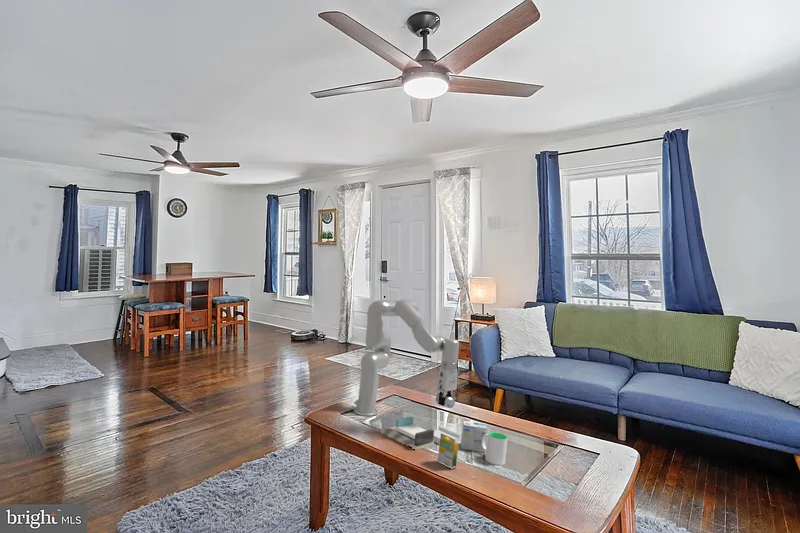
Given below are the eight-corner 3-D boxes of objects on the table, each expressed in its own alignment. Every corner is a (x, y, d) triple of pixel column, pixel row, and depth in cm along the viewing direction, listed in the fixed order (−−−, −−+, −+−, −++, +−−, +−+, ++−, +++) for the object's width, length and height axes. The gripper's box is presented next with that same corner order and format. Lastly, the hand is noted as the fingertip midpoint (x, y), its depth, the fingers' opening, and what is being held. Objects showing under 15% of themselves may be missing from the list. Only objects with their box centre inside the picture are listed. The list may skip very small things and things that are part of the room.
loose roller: (435, 403, 186) (436, 394, 187) (440, 402, 189) (441, 393, 190) (448, 408, 181) (449, 399, 181) (454, 407, 184) (455, 397, 184)
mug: (474, 454, 170) (476, 429, 170) (486, 451, 174) (489, 427, 175) (496, 466, 160) (499, 440, 160) (508, 463, 165) (511, 437, 165)
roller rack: (421, 435, 184) (422, 430, 184) (440, 430, 193) (440, 425, 193) (441, 445, 175) (442, 439, 175) (459, 439, 185) (460, 434, 185)
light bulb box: (483, 447, 179) (486, 423, 180) (485, 453, 172) (488, 428, 173) (460, 443, 180) (462, 419, 181) (460, 449, 174) (463, 424, 174)
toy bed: (394, 434, 177) (396, 419, 177) (409, 430, 184) (411, 416, 184) (414, 444, 168) (416, 428, 169) (428, 439, 175) (430, 425, 175)
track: (380, 432, 182) (382, 418, 182) (398, 428, 190) (400, 414, 190) (415, 450, 166) (417, 434, 166) (433, 445, 174) (435, 430, 175)
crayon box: (456, 468, 154) (459, 438, 154) (451, 470, 152) (454, 439, 152) (442, 461, 159) (445, 431, 160) (437, 462, 157) (440, 433, 158)
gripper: (443, 368, 177) (439, 409, 176) (465, 366, 189) (461, 404, 188) (431, 364, 183) (426, 404, 182) (453, 362, 195) (449, 400, 194)
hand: (444, 404), depth 185 cm, fingers closed on loose roller, 4 cm apart
